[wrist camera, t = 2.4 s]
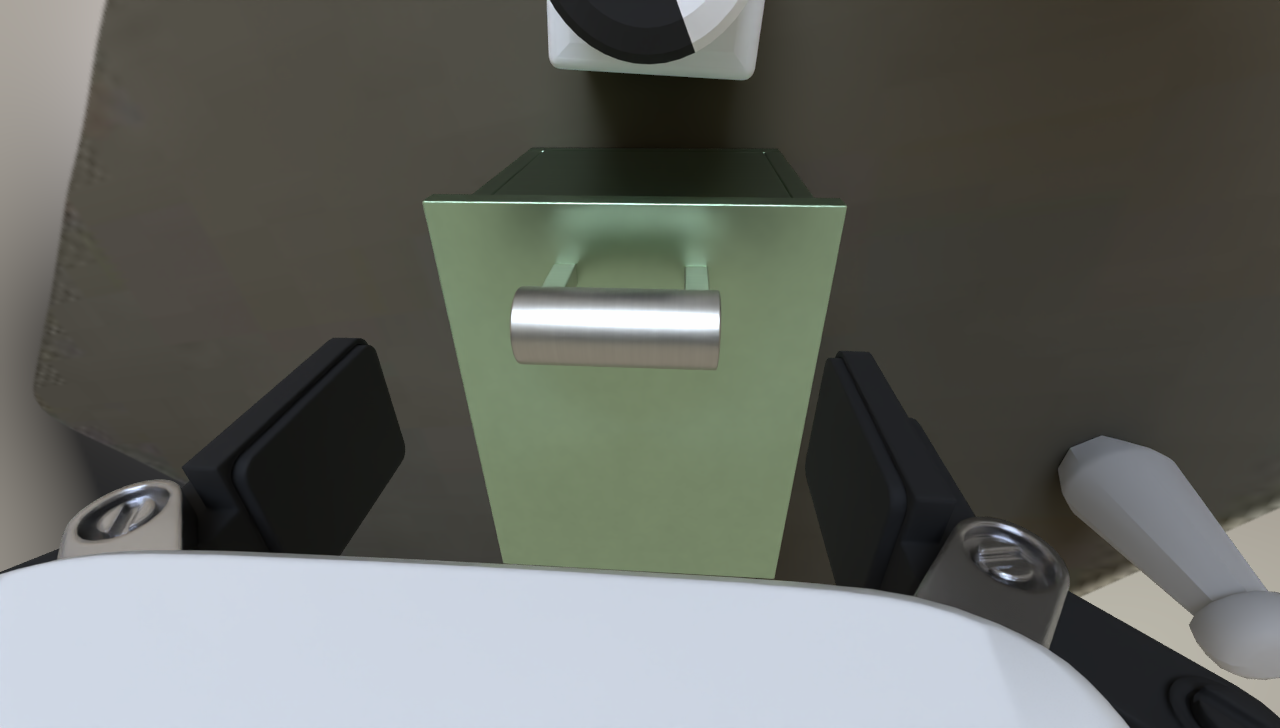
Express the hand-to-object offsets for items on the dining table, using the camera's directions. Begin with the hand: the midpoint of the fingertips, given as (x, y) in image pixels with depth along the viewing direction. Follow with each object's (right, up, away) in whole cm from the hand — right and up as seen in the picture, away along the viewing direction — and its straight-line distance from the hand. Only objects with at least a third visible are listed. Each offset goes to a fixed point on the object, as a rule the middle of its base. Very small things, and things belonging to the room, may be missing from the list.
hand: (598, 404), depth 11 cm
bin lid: (+1, -1, +9) cm, 9 cm away
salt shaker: (+30, -5, +23) cm, 38 cm away
